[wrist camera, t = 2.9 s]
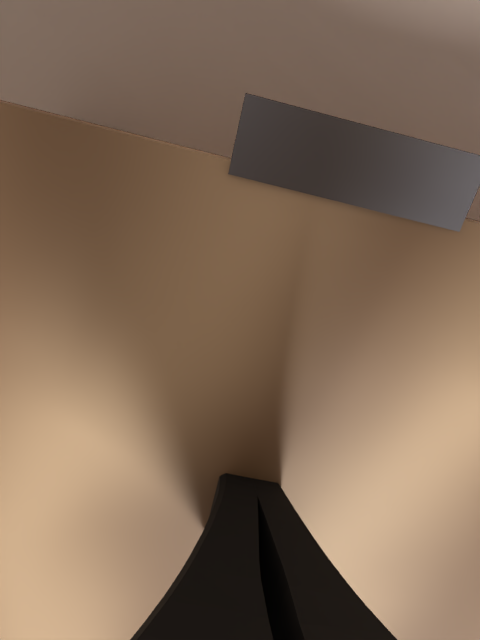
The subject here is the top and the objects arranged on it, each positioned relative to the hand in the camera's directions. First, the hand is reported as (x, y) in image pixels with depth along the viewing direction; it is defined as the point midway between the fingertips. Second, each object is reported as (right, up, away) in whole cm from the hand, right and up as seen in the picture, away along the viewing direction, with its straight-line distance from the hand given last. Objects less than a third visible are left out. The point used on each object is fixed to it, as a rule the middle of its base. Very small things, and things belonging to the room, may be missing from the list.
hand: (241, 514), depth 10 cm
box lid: (0, +1, 0) cm, 1 cm away
